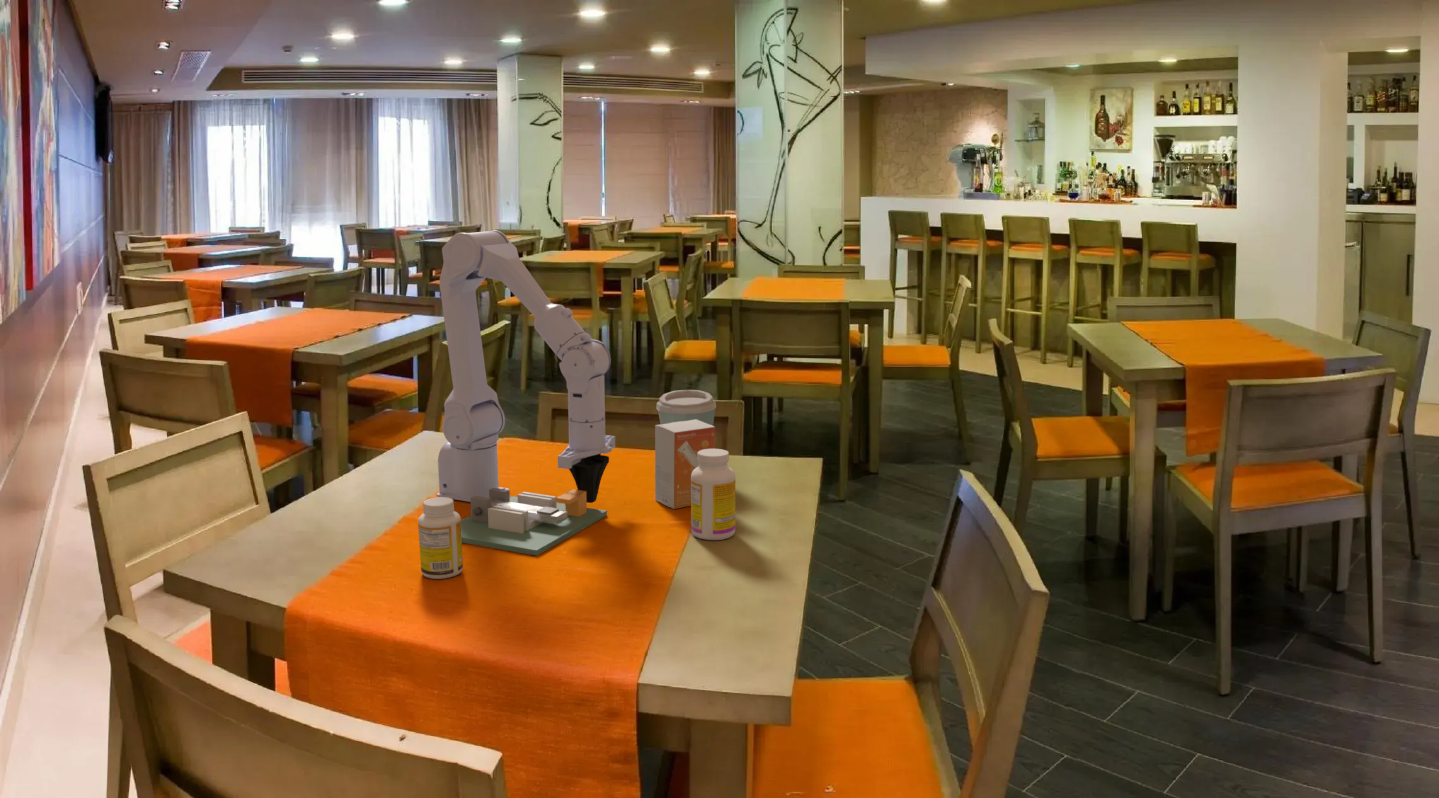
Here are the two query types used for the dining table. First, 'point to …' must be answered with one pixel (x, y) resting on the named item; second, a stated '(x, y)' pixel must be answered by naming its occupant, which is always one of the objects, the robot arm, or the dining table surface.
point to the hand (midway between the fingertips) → (588, 501)
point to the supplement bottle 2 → (713, 496)
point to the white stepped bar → (535, 511)
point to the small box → (679, 459)
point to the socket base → (519, 523)
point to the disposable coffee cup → (686, 406)
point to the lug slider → (574, 502)
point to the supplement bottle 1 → (440, 539)
